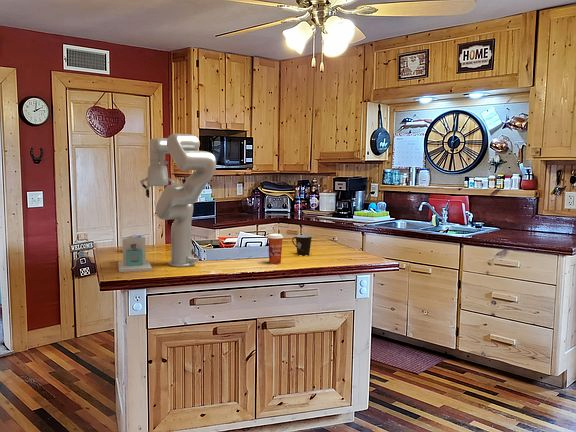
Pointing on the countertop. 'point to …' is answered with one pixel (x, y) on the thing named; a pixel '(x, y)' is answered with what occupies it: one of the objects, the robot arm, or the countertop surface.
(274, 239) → the paper cup
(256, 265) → the countertop surface
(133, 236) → the medicine box
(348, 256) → the countertop surface
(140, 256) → the spacer
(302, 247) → the coffee mug
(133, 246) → the shaft
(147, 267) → the bracket
